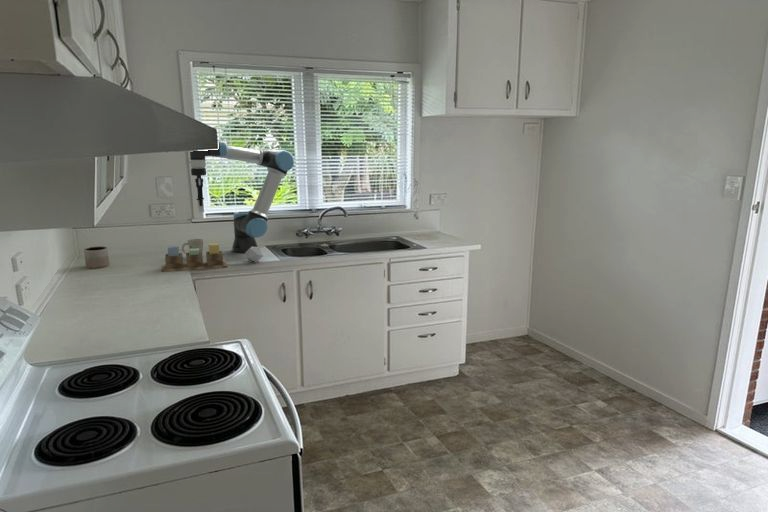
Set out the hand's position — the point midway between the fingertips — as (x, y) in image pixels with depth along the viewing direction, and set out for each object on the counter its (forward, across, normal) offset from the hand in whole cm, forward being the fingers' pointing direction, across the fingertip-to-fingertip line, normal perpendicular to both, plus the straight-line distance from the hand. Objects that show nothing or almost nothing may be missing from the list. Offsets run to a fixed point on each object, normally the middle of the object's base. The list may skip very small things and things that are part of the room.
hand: (201, 211), depth 276 cm
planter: (+28, -4, -53) cm, 60 cm away
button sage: (+25, +12, -5) cm, 28 cm away
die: (+28, +9, +26) cm, 39 cm away
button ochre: (+23, +12, +5) cm, 26 cm away
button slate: (+23, +12, -15) cm, 30 cm away
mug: (+28, -11, -6) cm, 30 cm away
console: (+27, +12, -5) cm, 30 cm away
